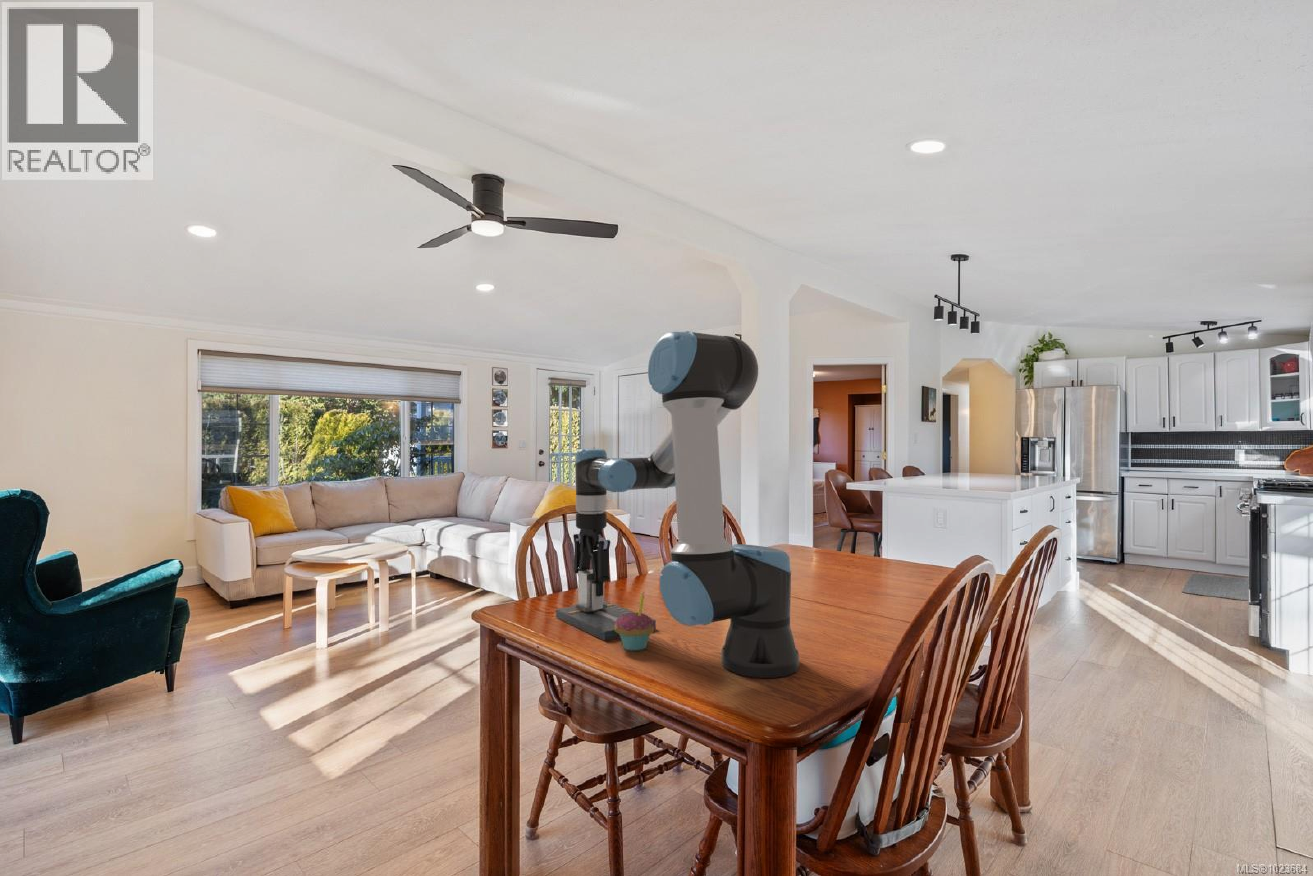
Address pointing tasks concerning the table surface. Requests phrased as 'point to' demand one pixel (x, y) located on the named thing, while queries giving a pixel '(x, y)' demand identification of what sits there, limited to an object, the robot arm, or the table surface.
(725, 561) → the robot arm
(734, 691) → the table surface
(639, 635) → the cupcake
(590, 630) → the board
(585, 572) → the block
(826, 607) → the table surface
